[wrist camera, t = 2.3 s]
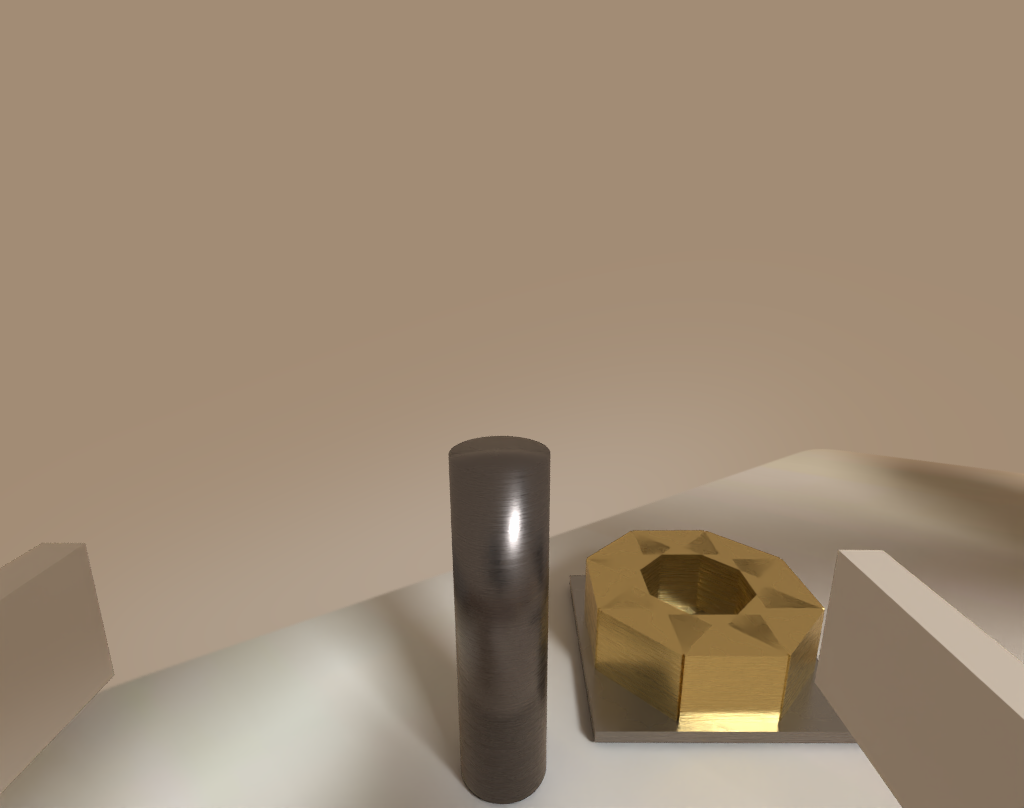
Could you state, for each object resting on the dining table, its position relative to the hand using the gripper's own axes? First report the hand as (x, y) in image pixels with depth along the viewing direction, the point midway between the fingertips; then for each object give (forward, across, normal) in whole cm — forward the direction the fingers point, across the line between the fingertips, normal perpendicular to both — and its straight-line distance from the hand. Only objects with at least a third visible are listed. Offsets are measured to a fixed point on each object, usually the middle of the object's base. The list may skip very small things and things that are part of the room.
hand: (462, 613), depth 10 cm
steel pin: (+10, 0, -15) cm, 18 cm away
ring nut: (+17, +10, -14) cm, 25 cm away
